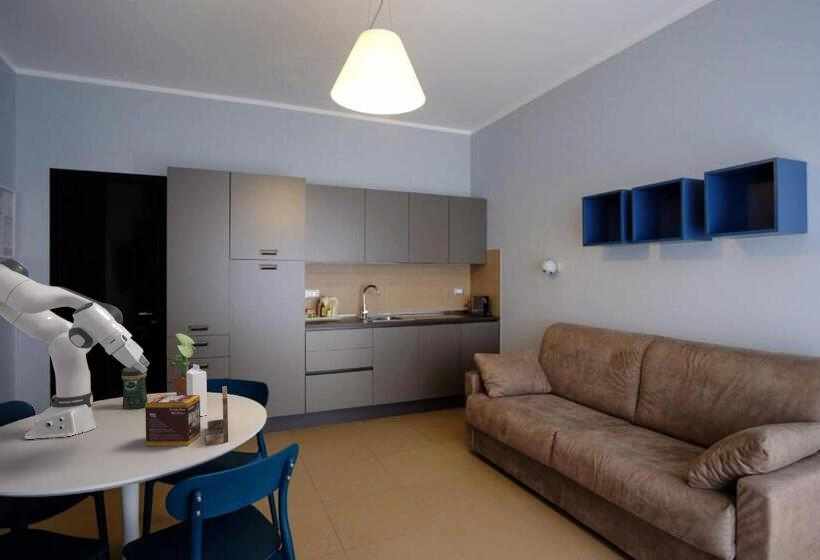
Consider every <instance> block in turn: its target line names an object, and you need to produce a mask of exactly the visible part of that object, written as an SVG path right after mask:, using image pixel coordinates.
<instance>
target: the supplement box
mask: <svg viewBox="0 0 820 560" xmlns="http://www.w3.org/2000/svg"><path fill="white" fill-rule="evenodd" d="M144 410H145V446H147V447H154V446H155V447H168V446H169V447H179V446H180V447H181V446H182V447H184V446H185V447H187V446H190V445H191V444H192V443H193V442H195V441H196V440H197V439H198V438H200V437H201V435H202V434H201V433H202V432H201V417H200V395H177V394H173V395H172V394H171V395H170V394H169V395H168V394H166V395H162V394H161V395H158V396H156V397H155V398H153V399H150V400H148V402H147V403H145V409H144Z"/></svg>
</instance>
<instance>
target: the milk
mask: <svg viewBox="0 0 820 560" xmlns="http://www.w3.org/2000/svg"><path fill="white" fill-rule="evenodd" d="M186 376H187V395H200V416H203V417H205V416H204V415H207V416H208V395H207V394H208V393H207V390H208V389H207V371H205V370H202V369H201V368H200V365H199V364H196V363H193V365H192V367H191V368H190V369H188V371H187V372H186Z"/></svg>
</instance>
